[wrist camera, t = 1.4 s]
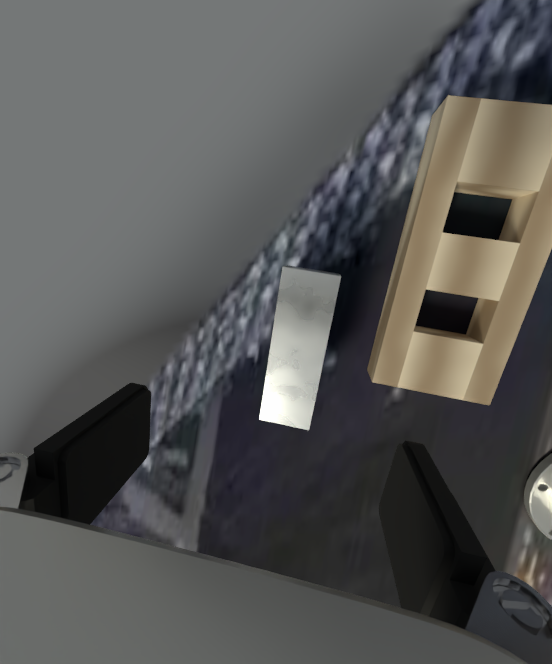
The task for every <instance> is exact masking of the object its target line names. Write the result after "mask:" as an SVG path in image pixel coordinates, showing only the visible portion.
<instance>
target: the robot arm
mask: <svg viewBox="0 0 552 664" xmlns="http://www.w3.org/2000/svg"><path fill="white" fill-rule="evenodd" d="M150 408H151V392H150V391H149V390H148V389H147V387H146V386H145V385H140V384H135V383H129V384H128V385H126V386H125V387H123V388H122V389H120V390H119V391H117V392H116V393H115V394H113V395H112V396H110V397H109V398H107V399H106V400H104V401H103V402H101V403H100V404H98V405H97V406H95V407H94V408H92V409H91V410H89V411H88V412H86V413H85V414H84V415H82V416H81V417H79V418H78V419H76V420H75V421H73V422H72V423H70V424H69V425H67V426H66V427H64V428H63V429H62V430H60V431H59V432H57V433H56V434H54V435H53V436H51V437H50V438H48V439H47V440H45V441H44V442H42V443H41V444H39V445H38V446H37V447H35V448H34V454H32V455H31V456H29V457H28V458H27V457H26V456H24V455H22V454H19V453H2V454H0V664H552V606H551V605H550V604H549V603H548V602H547V601H546V600H545V599H544V598H543V597H542V596H541V595H540V594H539V593H538V592H537V591H536V590H534V589H533V588H532V587H531V586H529V585H528V584H527V583H525V582H523V581H522V580H520V579H519V578H517V577H515V576H513V575H510V574H508V573H505V572H499V571H495V569H494V567H493V566H492V564H491V562H490V560H489V558H488V557H487V555H486V553H485V551H484V550H483V548H482V546H481V544H480V542H479V541H478V539H477V537H476V535H475V534H474V532H473V530H472V528H471V526H470V525H469V523H468V521H467V519H466V517H465V516H464V514H463V512H462V510H461V509H460V507H459V505H458V503H457V501H456V500H455V498H454V496H453V495H452V493H451V492H450V491H449V489H448V487H447V485H446V483H445V482H444V480H443V478H442V476H441V475H440V473H439V471H438V469H437V467H436V466H435V464H434V462H433V460H432V458H431V457H430V455H429V453H428V451H427V449H426V448H425V446H424V445H423V444H420V443H415V442H410V441H405V442H404V443H403V444H399V445H398V446H397V449H396V452H395V456H394V459H393V462H392V465H391V468H390V472H389V475H388V478H387V481H386V484H385V488H384V491H383V494H382V497H381V500H380V504H379V515H380V519H381V524H382V528H383V532H384V536H385V540H386V545H387V549H388V553H389V557H390V562H391V566H392V570H393V574H394V578H395V583H396V587H397V591H398V595H399V600H400V604H401V608H399V607H396V606H392V605H389V604H385V603H382V602H378V601H375V600H372V599H368V598H365V597H361V596H358V595H354V594H350V593H347V592H343V591H339V590H336V589H332V588H328V587H324V586H321V585H317V584H313V583H310V582H306V581H302V580H299V579H295V578H291V577H288V576H284V575H280V574H276V573H273V572H269V571H265V570H262V569H258V568H254V567H250V566H246V565H243V564H239V563H235V562H231V561H228V560H224V559H220V558H216V557H213V556H209V555H205V554H201V553H197V552H193V551H190V550H186V549H182V548H178V547H174V546H171V545H167V544H163V543H159V542H155V541H151V540H147V539H143V538H140V537H136V536H132V535H128V534H124V533H120V532H116V531H112V530H108V529H105V528H101V527H97V526H93V525H90V524H91V523H92V522H93V520H94V519H95V518H96V517H97V516H98V514H99V513H100V512H101V511H102V510H103V509H104V507H105V506H106V505H107V504H108V503H109V501H110V500H111V499H112V498H113V497H114V496H115V494H116V493H117V492H118V491H119V490H120V488H121V487H122V486H123V485H124V484H125V483H126V481H127V480H128V479H129V478H130V477H131V475H132V474H133V473H134V472H135V471H136V470H137V468H138V467H139V466H140V465H141V464H142V462H143V461H144V460H145V459H146V457H147V455H148V452H149V439H150ZM524 503H525V507H526V511H527V513H528V514H529V516H530V518H531V520H532V521H533V522H534V523H535V525H536V526H537V527H538V528H539V530H540V531H541V532H542V533H543V534H544V535H545V536H547V537H548V538H549V539H551V540H552V453H551V454H550V455H549V456H547V457H546V458H545V459H544V460H542V461H541V462H540V463H539V464H538V465H537V467H536V468H535V469H534V470H533V471H532V473H531V475H530V477H529V478H528V480H527V483H526V486H525V490H524Z"/></svg>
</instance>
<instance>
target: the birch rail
mask: <svg viewBox="0 0 552 664" xmlns="http://www.w3.org/2000/svg"><path fill="white" fill-rule="evenodd" d="M454 192H459V193H467V194H475V195H482V196H490V197H498V198H506V199H512V202H511V205H510V208H509V211H508V214H507V217H506V220H505V223H504V225H503V228H502V231H501V234H500V237H499V240H492V239H485V238H478V237H471V236H464V235H457V234H450V233H443V228H444V225H445V221H446V218H447V215H448V211H449V208H450V204H451V201H452V197H453V194H454ZM551 249H552V105H547V104H536V103H525V102H514V101H504V100H493V99H482V98H471V97H461V96H450V95H448V96H447V97H446V99H445V100H444V101H443V102H442V104H441V105H440V106H439V107H438V109H437V110H436V111H435V113H434V114H433V115H432V118H431V122H430V126H429V130H428V134H427V138H426V142H425V145H424V149H423V153H422V157H421V161H420V165H419V169H418V173H417V177H416V181H415V185H414V188H413V192H412V196H411V200H410V204H409V208H408V212H407V216H406V220H405V224H404V228H403V232H402V235H401V239H400V243H399V247H398V251H397V255H396V259H395V263H394V267H393V271H392V275H391V278H390V282H389V286H388V290H387V294H386V298H385V302H384V306H383V310H382V314H381V318H380V321H379V325H378V329H377V333H376V337H375V341H374V345H373V349H372V353H371V357H370V361H369V364H368V368H367V370H368V373H369V375H370V378H371V380H372V382H374V383H379V384H384V385H389V386H395V387H400V388H405V389H410V390H415V391H420V392H425V393H430V394H435V395H440V396H445V397H450V398H455V399H460V400H465V401H470V402H475V403H480V404H485V405H490V403H491V401H492V398H493V395H494V393H495V390H496V388H497V385H498V383H499V380H500V378H501V375H502V373H503V370H504V368H505V365H506V363H507V360H508V357H509V355H510V352H511V350H512V347H513V345H514V342H515V340H516V337H517V335H518V332H519V330H520V327H521V325H522V322H523V320H524V317H525V314H526V312H527V309H528V307H529V304H530V302H531V299H532V297H533V294H534V292H535V289H536V287H537V284H538V282H539V279H540V277H541V274H542V271H543V269H544V266H545V264H546V261H547V259H548V256H549V254H550V251H551ZM426 289H428V290H434V291H440V292H446V293H452V294H458V295H465V296H471V297H477V298H478V301H477V304H476V307H475V310H474V313H473V315H472V318H471V321H470V324H469V327H468V330H467V333H466V335H465V334H460V333H454V332H448V331H443V330H437V329H431V328H425V327H420V326H415V324H416V321H417V318H418V314H419V311H420V307H421V304H422V300H423V297H424V294H425V290H426Z"/></svg>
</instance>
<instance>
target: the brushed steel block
mask: <svg viewBox="0 0 552 664" xmlns="http://www.w3.org/2000/svg"><path fill="white" fill-rule="evenodd" d="M340 280H341V275H340V274H337V273H331V272H325V271H319V270H313V269H306V268H300V267H294V266H288V265H287V266H283V268H282V274H281V281H280V287H279V294H278V300H277V307H276V313H275V320H274V326H273V333H272V339H271V346H270V353H269V359H268V366H267V372H266V379H265V385H264V392H263V398H262V405H261V411H260V418H259V419H260V420H265V421H269V422H274V423H278V424H283V425H287V426H292V427H296V428H301V429H305V430H309V428H310V423H311V418H312V414H313V409H314V404H315V399H316V395H317V390H318V385H319V380H320V375H321V371H322V366H323V361H324V356H325V351H326V347H327V342H328V337H329V332H330V328H331V323H332V318H333V313H334V308H335V304H336V299H337V294H338V289H339V285H340Z"/></svg>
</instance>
